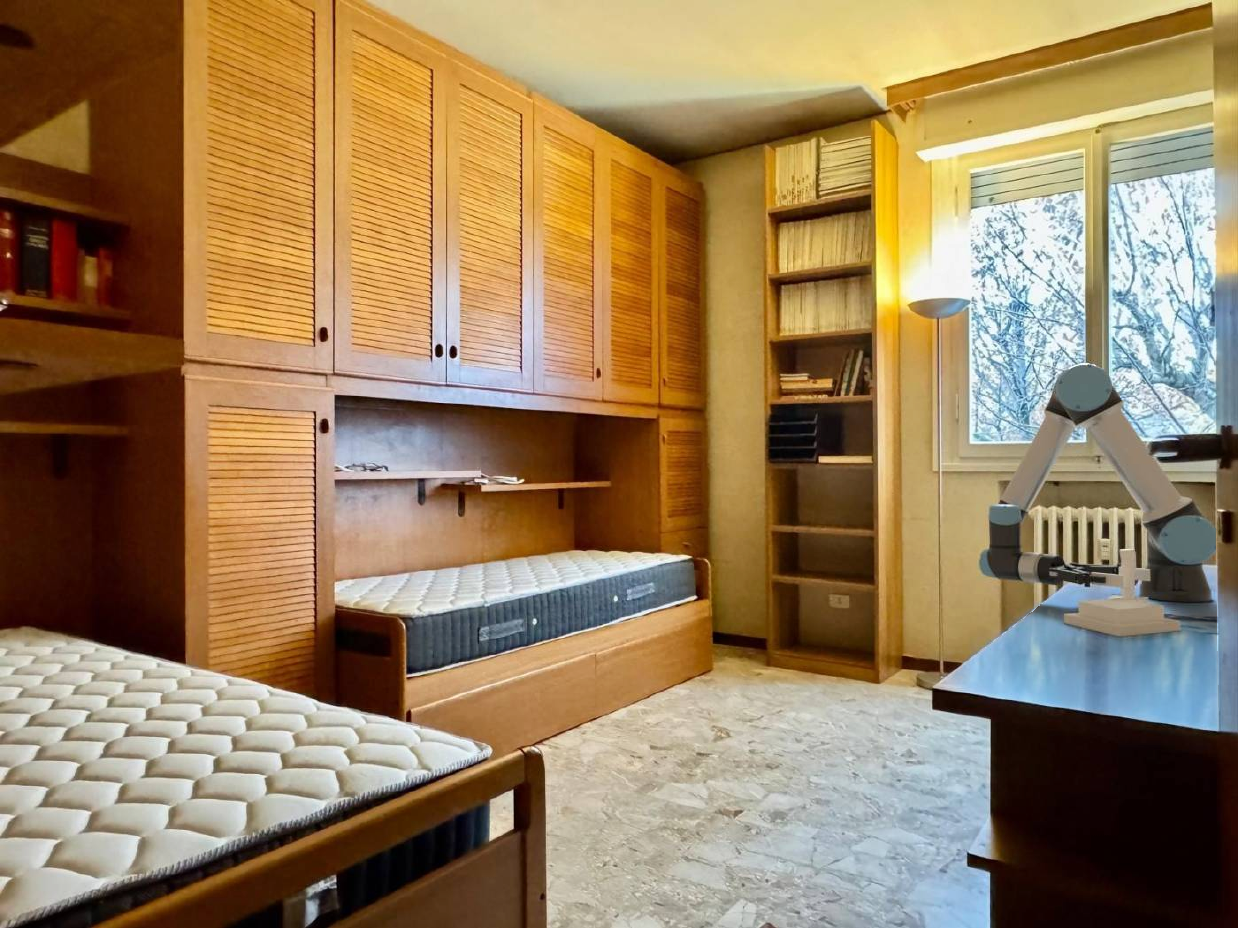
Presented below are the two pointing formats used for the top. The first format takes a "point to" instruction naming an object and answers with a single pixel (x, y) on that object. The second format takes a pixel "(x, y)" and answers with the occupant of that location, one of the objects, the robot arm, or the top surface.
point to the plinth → (1121, 617)
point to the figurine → (1128, 576)
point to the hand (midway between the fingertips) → (1136, 578)
